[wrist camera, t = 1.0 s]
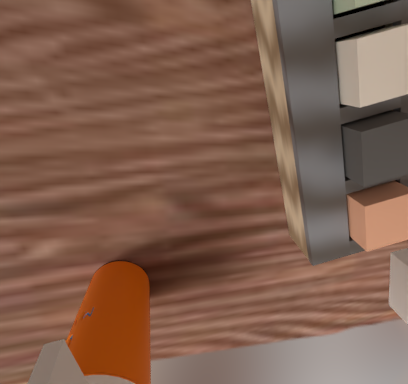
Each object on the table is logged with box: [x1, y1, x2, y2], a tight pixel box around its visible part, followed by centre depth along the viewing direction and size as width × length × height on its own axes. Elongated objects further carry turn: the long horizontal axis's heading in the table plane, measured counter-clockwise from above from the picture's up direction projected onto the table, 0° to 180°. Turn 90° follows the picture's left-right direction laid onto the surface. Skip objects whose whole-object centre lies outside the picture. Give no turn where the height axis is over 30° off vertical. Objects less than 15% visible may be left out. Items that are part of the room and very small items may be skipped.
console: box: [251, 0, 408, 266], centre depth 30 cm, size 30×14×6 cm, turn 14°
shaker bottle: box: [66, 261, 151, 384], centre depth 29 cm, size 9×9×20 cm
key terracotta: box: [346, 181, 408, 251], centre depth 30 cm, size 5×5×4 cm
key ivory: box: [335, 23, 408, 108], centre depth 25 cm, size 5×5×4 cm
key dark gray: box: [341, 110, 408, 187], centre depth 28 cm, size 5×5×4 cm
